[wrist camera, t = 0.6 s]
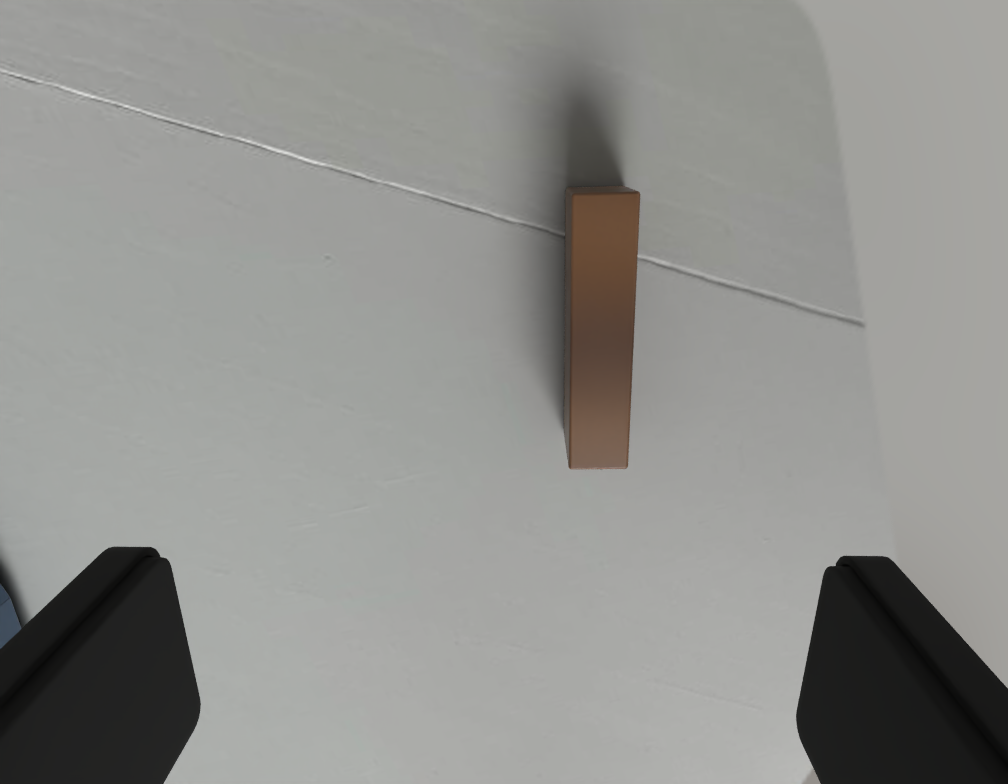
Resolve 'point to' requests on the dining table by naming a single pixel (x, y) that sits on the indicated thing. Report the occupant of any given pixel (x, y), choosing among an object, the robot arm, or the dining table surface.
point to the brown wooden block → (599, 323)
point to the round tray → (7, 618)
